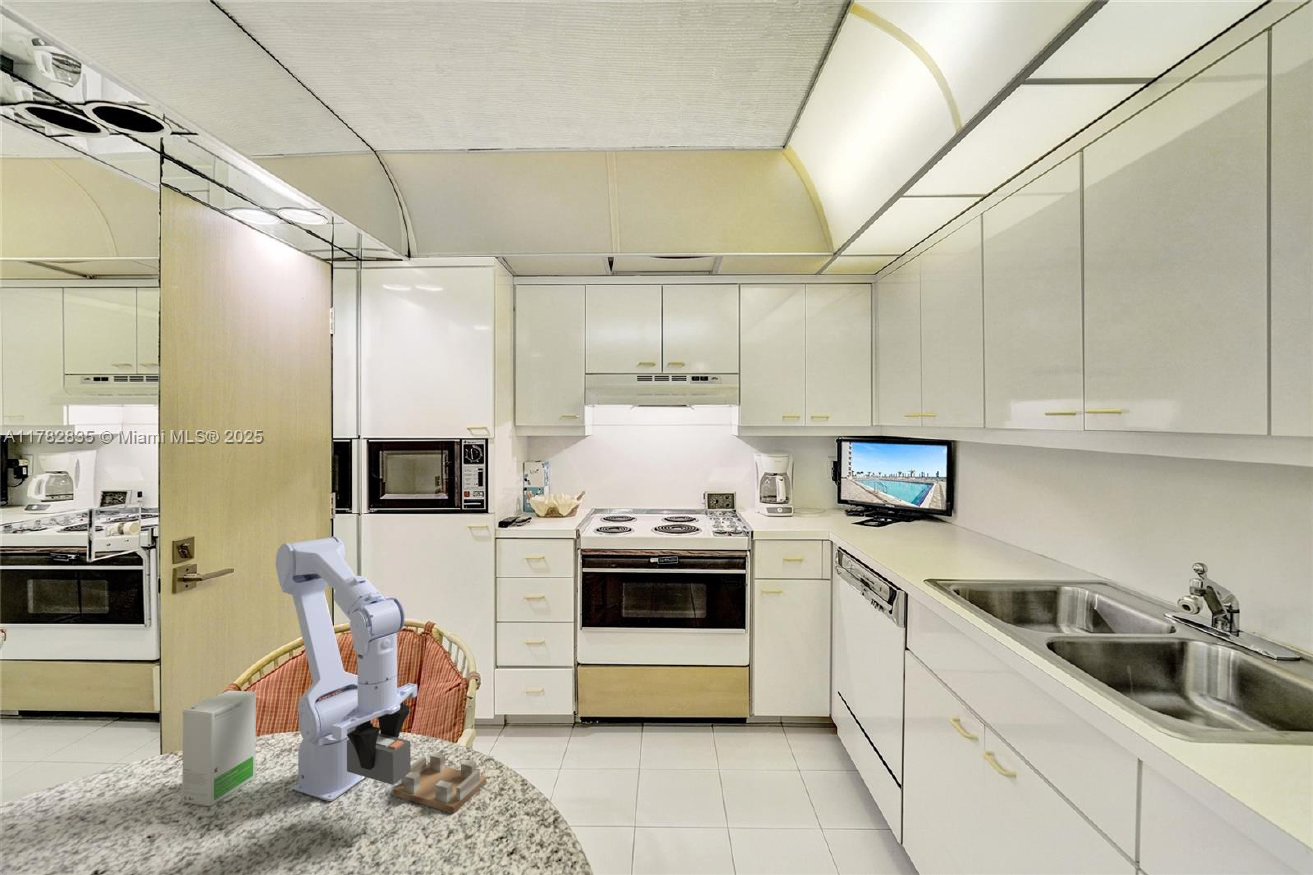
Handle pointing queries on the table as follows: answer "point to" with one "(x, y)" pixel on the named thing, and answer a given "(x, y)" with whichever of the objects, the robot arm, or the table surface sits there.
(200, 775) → the skincare box
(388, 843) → the table surface
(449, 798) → the mounting board
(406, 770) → the grey rectangular block
